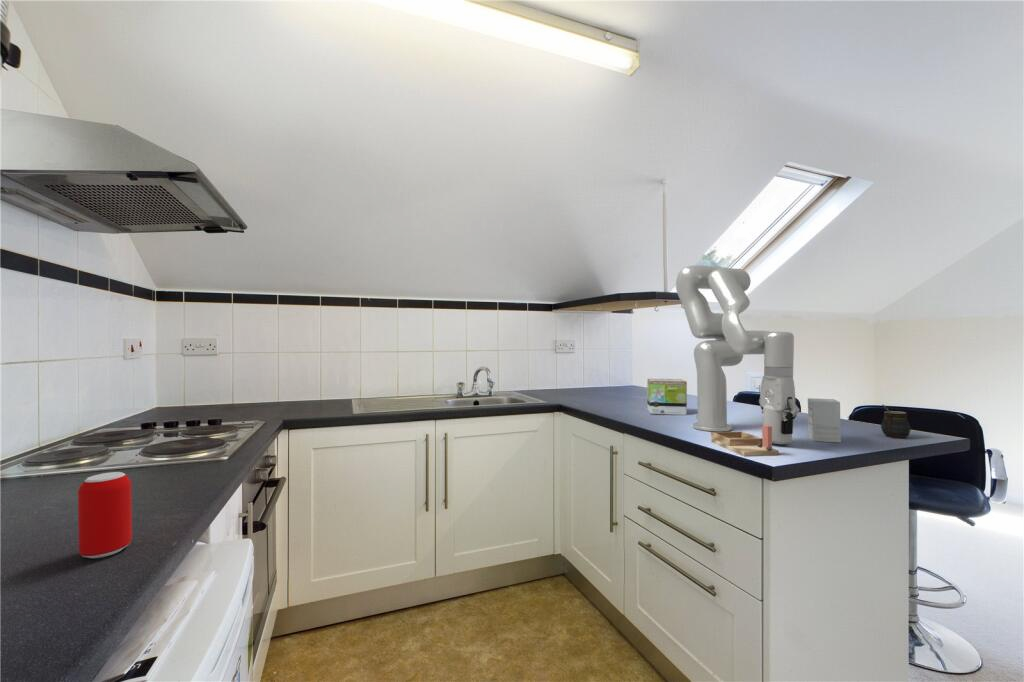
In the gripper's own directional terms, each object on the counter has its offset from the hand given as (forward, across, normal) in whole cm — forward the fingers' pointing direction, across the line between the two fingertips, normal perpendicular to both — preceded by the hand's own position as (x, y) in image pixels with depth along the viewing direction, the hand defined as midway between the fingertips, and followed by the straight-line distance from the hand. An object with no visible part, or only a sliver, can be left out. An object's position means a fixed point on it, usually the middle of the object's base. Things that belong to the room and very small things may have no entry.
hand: (777, 430), depth 133 cm
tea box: (+7, -59, -9) cm, 60 cm away
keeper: (-1, +9, -10) cm, 14 cm away
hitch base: (+4, +3, -13) cm, 14 cm away
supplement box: (+4, -4, +18) cm, 19 cm away
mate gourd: (+4, -5, +43) cm, 44 cm away
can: (+4, 0, 0) cm, 4 cm away
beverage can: (+4, +53, -149) cm, 158 cm away
